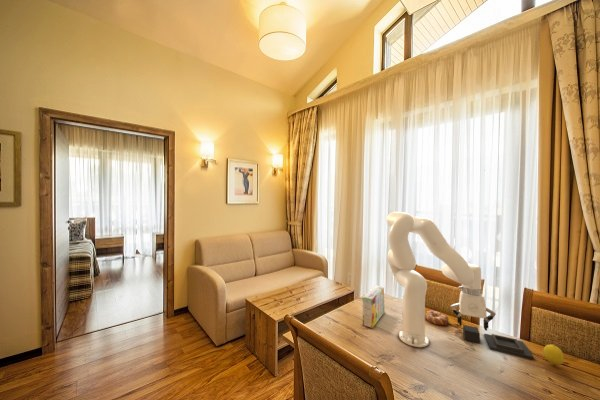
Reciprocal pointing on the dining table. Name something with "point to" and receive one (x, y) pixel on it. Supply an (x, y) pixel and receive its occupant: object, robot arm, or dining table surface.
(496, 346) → the base pad
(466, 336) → the black block
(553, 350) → the lemon
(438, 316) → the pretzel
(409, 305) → the robot arm
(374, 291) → the snack box
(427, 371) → the dining table surface
